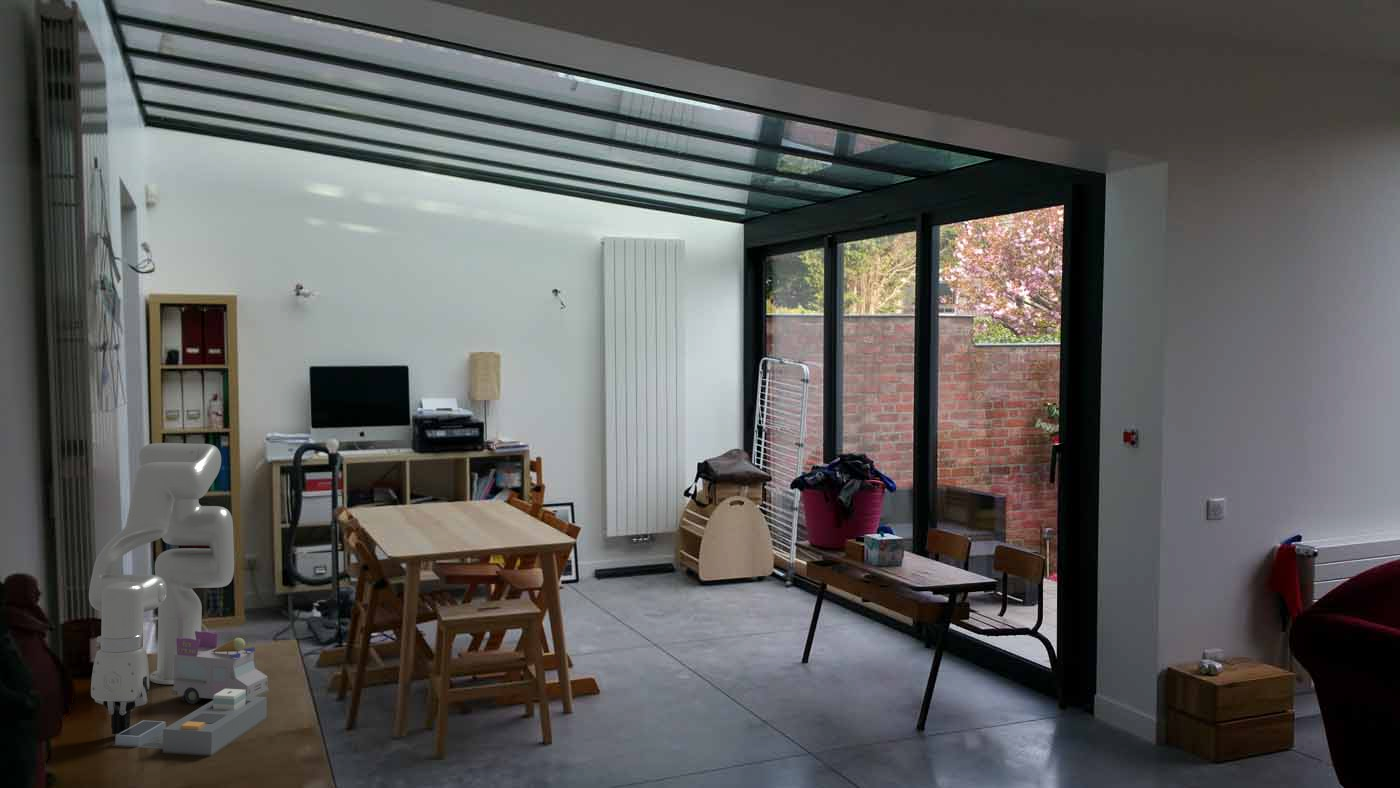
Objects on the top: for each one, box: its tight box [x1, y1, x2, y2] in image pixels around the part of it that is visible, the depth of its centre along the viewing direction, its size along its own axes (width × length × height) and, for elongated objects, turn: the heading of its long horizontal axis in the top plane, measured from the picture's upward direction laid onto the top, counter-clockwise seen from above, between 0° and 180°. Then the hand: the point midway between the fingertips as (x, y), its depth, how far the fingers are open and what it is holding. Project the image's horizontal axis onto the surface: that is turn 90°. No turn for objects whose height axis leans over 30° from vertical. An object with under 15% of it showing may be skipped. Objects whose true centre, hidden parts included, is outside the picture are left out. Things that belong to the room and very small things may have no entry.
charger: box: [212, 689, 246, 710], centre depth 220 cm, size 5×5×7 cm
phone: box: [114, 719, 167, 746], centre depth 212 cm, size 9×5×2 cm, turn 176°
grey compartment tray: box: [162, 696, 268, 757], centre depth 215 cm, size 22×10×6 cm, turn 176°
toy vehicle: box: [171, 630, 270, 705], centre depth 237 cm, size 9×20×15 cm, turn 78°
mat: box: [111, 733, 163, 750], centre depth 212 cm, size 10×12×1 cm
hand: (120, 731), depth 212 cm, fingers closed
